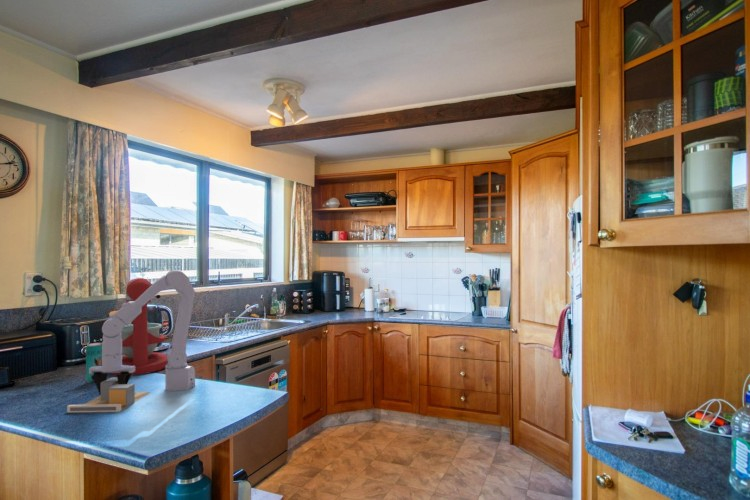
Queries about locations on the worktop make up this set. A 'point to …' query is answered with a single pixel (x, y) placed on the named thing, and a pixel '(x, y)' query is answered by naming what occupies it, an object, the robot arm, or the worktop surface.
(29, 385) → the worktop surface
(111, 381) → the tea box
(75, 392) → the worktop surface
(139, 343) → the stand mixer
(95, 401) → the shelf board
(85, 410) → the rail
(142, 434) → the worktop surface
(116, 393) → the faced box
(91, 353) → the beverage can
